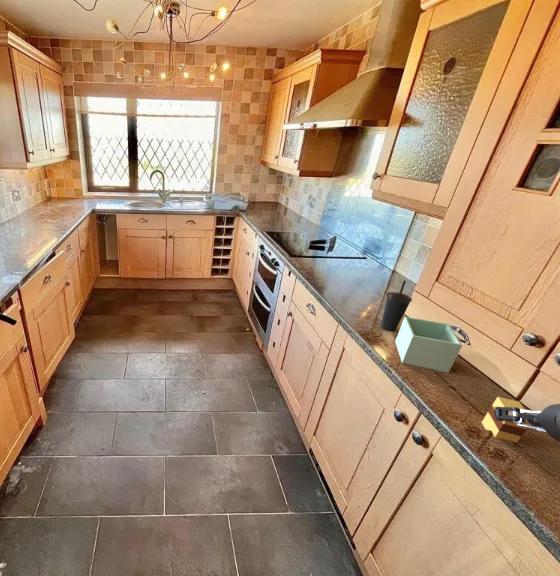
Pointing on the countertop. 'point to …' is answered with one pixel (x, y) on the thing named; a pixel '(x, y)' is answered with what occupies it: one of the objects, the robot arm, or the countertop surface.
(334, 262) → the countertop surface
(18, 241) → the countertop surface
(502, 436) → the yellow brown striped block
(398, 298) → the drinking cup
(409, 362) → the storage box
